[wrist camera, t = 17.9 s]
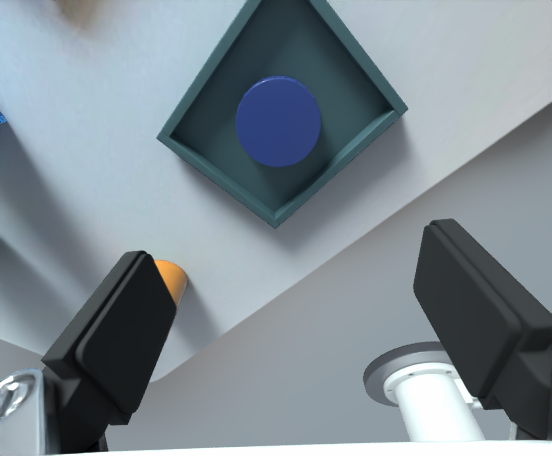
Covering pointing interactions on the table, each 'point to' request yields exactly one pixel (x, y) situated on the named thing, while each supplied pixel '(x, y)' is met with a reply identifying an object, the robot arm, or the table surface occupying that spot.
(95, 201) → the table surface
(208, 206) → the table surface
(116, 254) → the table surface
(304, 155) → the lid
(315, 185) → the tray
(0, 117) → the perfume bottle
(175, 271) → the jar
